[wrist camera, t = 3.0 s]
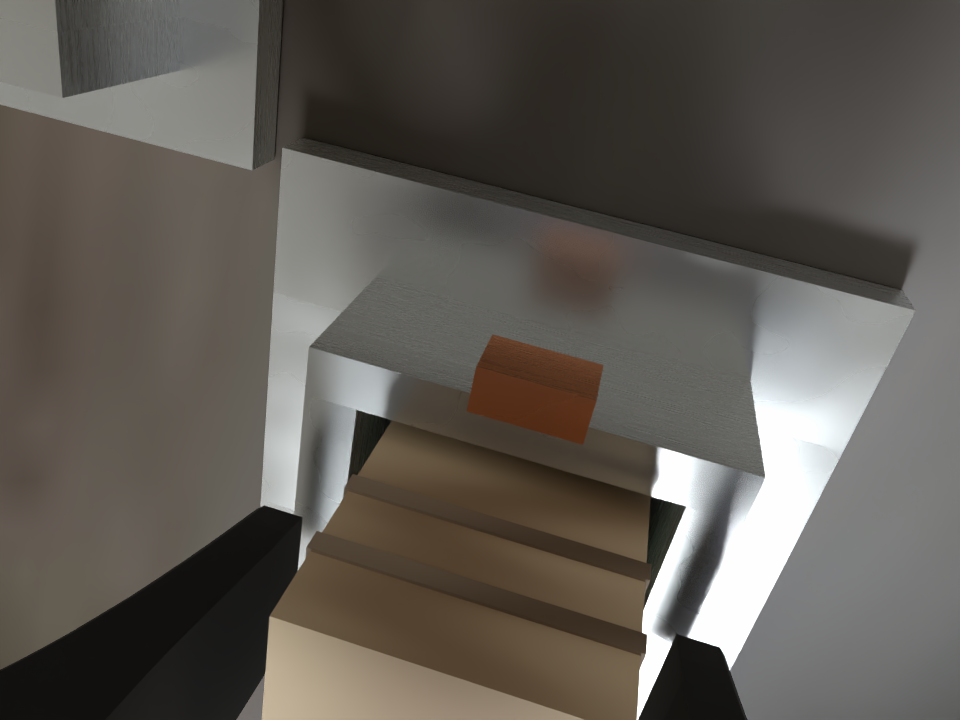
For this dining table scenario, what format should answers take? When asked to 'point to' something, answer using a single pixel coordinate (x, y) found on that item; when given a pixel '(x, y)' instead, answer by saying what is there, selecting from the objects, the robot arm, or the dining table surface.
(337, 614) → the post
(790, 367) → the stand base
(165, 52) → the raised stand
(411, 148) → the dining table surface
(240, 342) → the dining table surface
